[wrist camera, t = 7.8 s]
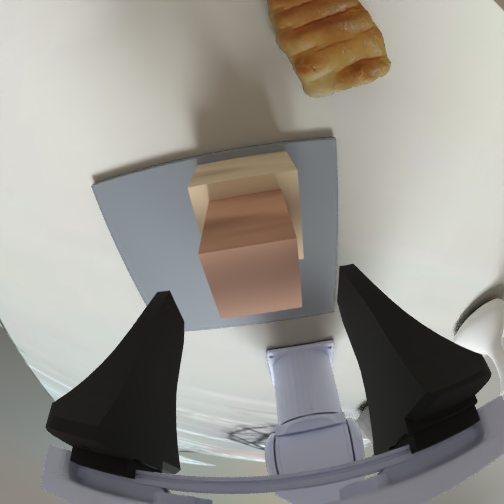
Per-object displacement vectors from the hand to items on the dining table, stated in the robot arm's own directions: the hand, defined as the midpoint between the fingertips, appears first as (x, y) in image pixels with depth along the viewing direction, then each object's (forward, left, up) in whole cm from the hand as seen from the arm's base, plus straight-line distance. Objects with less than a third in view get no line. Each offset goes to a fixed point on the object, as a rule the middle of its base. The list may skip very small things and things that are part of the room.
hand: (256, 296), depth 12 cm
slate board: (-5, +3, -10) cm, 12 cm away
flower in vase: (-24, -32, -11) cm, 41 cm away
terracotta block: (0, 0, -6) cm, 6 cm away
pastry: (+11, -6, -11) cm, 17 cm away
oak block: (0, 0, -10) cm, 10 cm away
